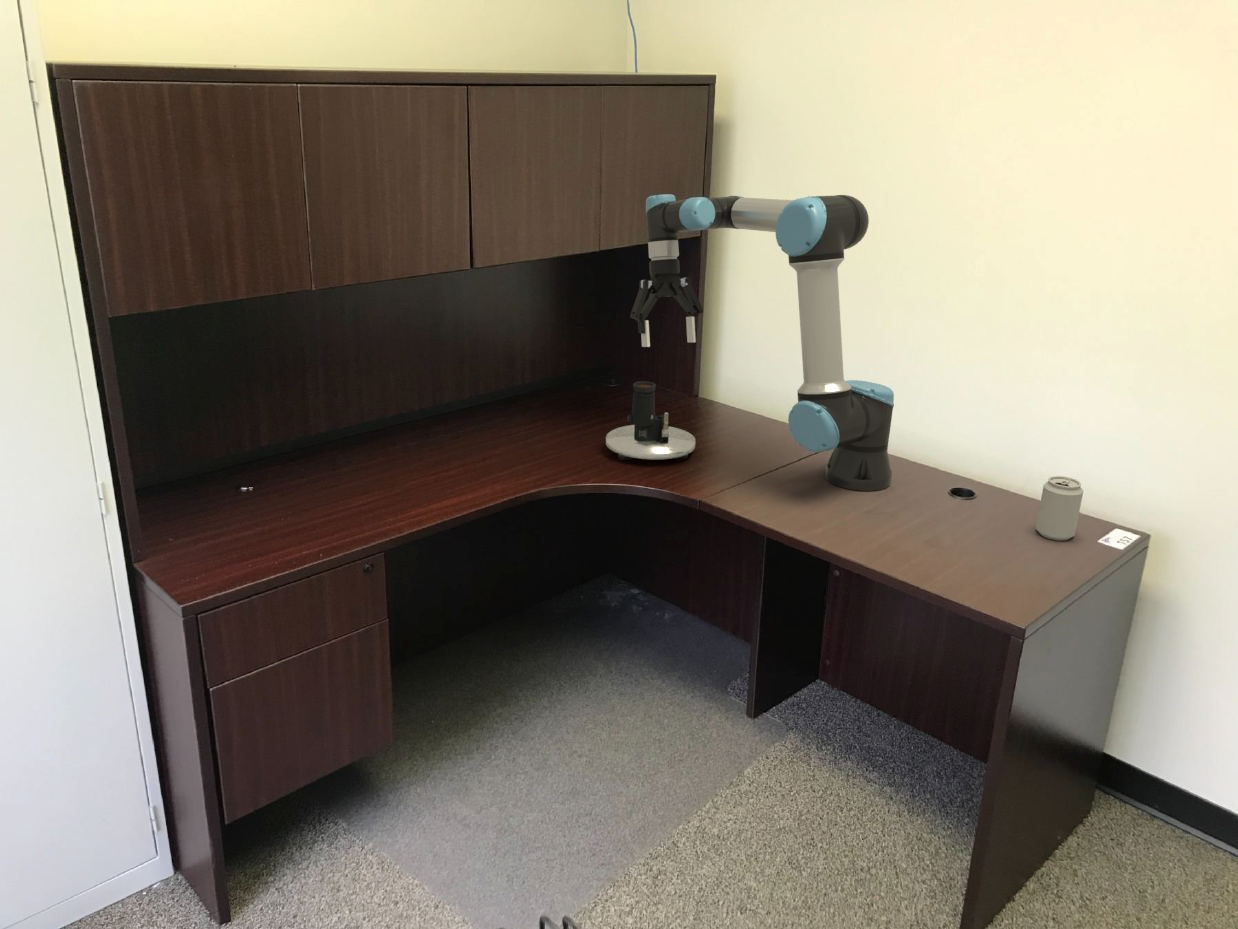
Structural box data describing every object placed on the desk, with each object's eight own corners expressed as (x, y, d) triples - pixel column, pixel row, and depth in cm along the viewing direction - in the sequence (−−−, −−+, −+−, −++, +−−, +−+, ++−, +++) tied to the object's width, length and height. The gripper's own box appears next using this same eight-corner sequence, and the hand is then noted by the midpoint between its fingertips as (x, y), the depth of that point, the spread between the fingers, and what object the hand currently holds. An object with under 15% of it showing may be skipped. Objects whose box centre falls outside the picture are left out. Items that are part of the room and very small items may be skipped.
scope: (671, 389, 240) (629, 389, 239) (669, 444, 245) (627, 444, 244) (667, 379, 248) (626, 379, 247) (665, 433, 252) (625, 433, 252)
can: (1028, 533, 209) (1038, 479, 205) (1044, 524, 214) (1054, 471, 210) (1064, 545, 204) (1075, 490, 200) (1080, 535, 209) (1091, 481, 205)
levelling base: (713, 455, 248) (714, 442, 247) (644, 473, 235) (644, 459, 234) (655, 431, 264) (655, 419, 263) (587, 447, 251) (588, 434, 250)
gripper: (697, 257, 261) (701, 340, 265) (613, 262, 249) (618, 348, 253) (713, 255, 255) (718, 340, 258) (628, 260, 243) (634, 348, 246)
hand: (669, 344), depth 255 cm, fingers open, 13 cm apart
